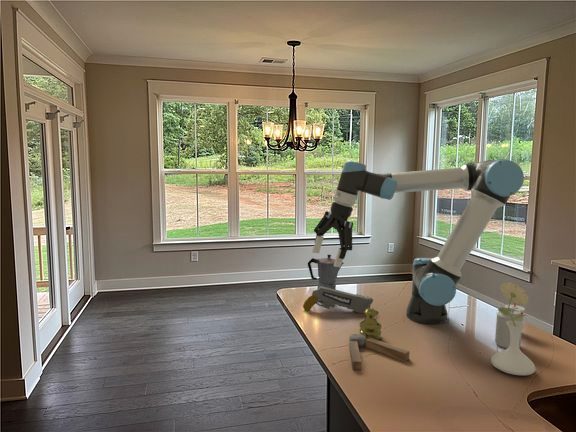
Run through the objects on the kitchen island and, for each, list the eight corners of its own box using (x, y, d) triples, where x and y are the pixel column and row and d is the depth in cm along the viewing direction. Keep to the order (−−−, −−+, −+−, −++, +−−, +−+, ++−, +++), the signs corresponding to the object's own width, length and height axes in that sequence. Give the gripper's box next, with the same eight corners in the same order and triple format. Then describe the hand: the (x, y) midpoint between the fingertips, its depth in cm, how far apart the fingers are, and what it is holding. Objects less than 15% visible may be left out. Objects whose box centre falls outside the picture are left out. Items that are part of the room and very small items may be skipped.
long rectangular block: (369, 344, 137) (370, 337, 136) (409, 359, 127) (409, 351, 127) (365, 347, 135) (365, 339, 135) (405, 361, 125) (405, 353, 125)
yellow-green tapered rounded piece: (367, 330, 148) (368, 303, 147) (385, 336, 143) (386, 308, 142) (354, 336, 143) (355, 308, 142) (373, 343, 138) (374, 313, 137)
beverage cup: (525, 335, 145) (528, 296, 143) (506, 334, 146) (509, 295, 144) (519, 329, 151) (522, 291, 149) (501, 327, 152) (503, 290, 150)
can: (518, 342, 139) (520, 307, 138) (522, 352, 132) (525, 315, 131) (493, 339, 142) (495, 305, 140) (496, 348, 135) (498, 312, 133)
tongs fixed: (364, 341, 139) (364, 334, 139) (371, 370, 120) (372, 362, 119) (348, 341, 139) (348, 333, 139) (352, 369, 120) (352, 361, 120)
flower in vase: (545, 378, 116) (552, 290, 113) (507, 381, 114) (514, 292, 111) (512, 356, 129) (518, 277, 126) (478, 359, 127) (484, 279, 124)
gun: (358, 333, 167) (374, 300, 165) (301, 310, 167) (316, 276, 165) (357, 330, 170) (373, 297, 168) (301, 307, 170) (316, 274, 168)
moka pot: (344, 303, 177) (345, 257, 175) (307, 303, 177) (308, 256, 175) (341, 296, 187) (342, 252, 184) (306, 295, 187) (307, 251, 184)
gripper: (315, 193, 157) (299, 246, 161) (357, 212, 137) (338, 272, 140) (330, 196, 161) (314, 248, 165) (374, 215, 141) (355, 273, 144)
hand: (325, 259), depth 152 cm, fingers open, 13 cm apart
